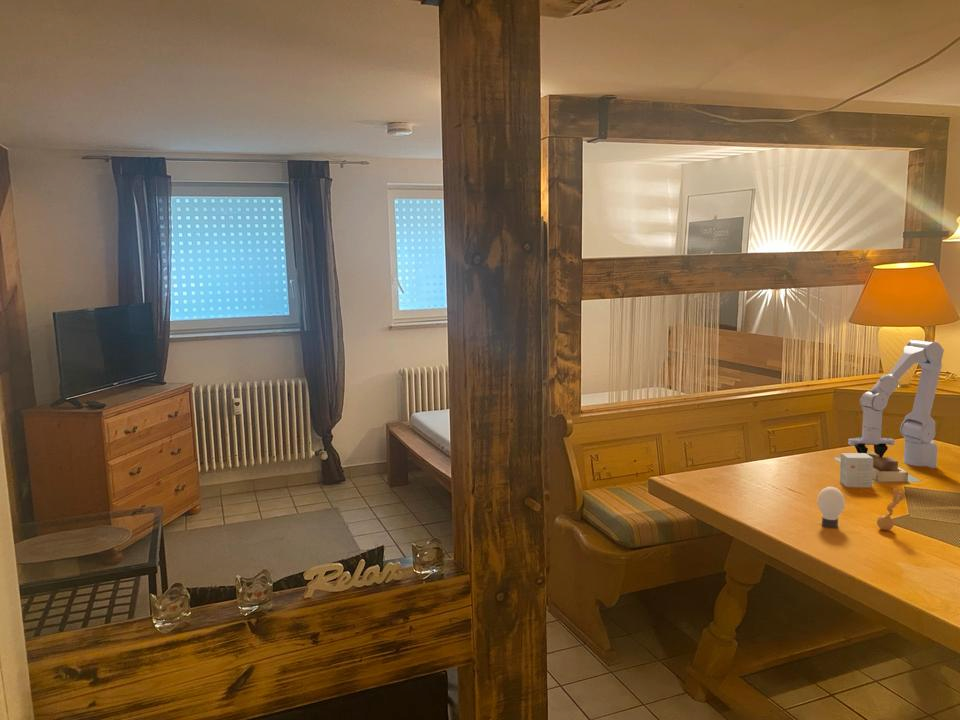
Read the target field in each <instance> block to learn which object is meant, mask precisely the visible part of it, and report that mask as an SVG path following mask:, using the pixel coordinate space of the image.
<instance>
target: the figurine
mask: <svg viewBox="0 0 960 720" xmlns="http://www.w3.org/2000/svg"><path fill="white" fill-rule="evenodd" d="M892 493H893V497H892V500H891V501H892V502H889V504H887V507H886V510H887V511H888V512H889V513H887V514H885V515H880V516H879V517H878V518H877V520H876V524H877V527H878V528H879V529H880V530H882V531H890V530H892V529H893V528H894V525H895V523H894V520H893V518H891V516H892V515H893V511H894V510H893V509H894V508H896V507H897V505H898V504H899V503H900V502H901V501H902V500H903V499H904V497H905V492H903V491H901V490H899V489H897V488H893V490H892Z"/></svg>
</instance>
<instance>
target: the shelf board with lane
mask: <svg viewBox="0 0 960 720" xmlns="http://www.w3.org/2000/svg"><path fill="white" fill-rule="evenodd" d="M833 460H836V461H837V462H839V463H841V457H833ZM907 482H908V483H911V482H912V483H915V482H916V483H920V482H922V481H921V480H920V479H918V478H916V477H914V476H912V475H910V474H909V471H907V470H904V469H903V468H902V467H899V466H898V471H879V470H877V469H875V468H874V467H873V476H872V483H907Z"/></svg>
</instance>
